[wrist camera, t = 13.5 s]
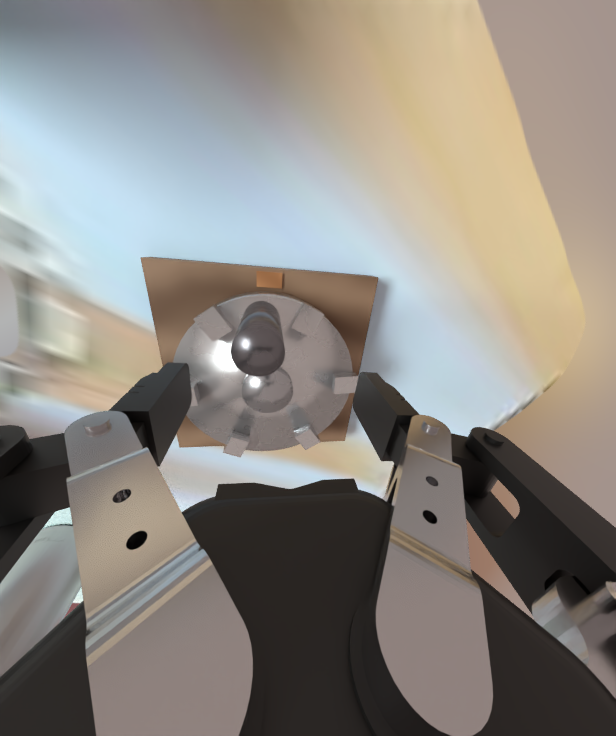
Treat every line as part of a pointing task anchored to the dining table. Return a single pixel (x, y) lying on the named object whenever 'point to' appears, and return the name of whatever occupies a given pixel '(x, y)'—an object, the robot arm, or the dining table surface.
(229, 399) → the silver round piece
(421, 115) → the dining table surface
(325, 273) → the brown wooden board
